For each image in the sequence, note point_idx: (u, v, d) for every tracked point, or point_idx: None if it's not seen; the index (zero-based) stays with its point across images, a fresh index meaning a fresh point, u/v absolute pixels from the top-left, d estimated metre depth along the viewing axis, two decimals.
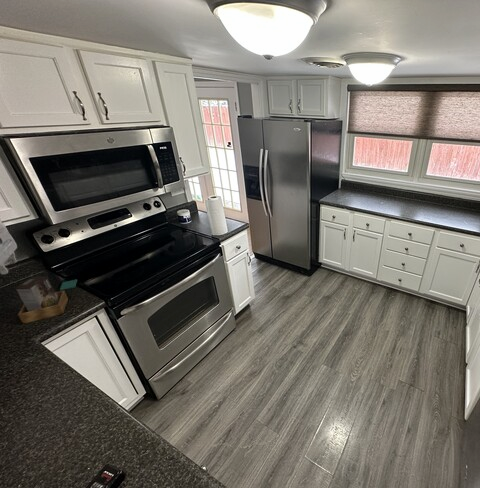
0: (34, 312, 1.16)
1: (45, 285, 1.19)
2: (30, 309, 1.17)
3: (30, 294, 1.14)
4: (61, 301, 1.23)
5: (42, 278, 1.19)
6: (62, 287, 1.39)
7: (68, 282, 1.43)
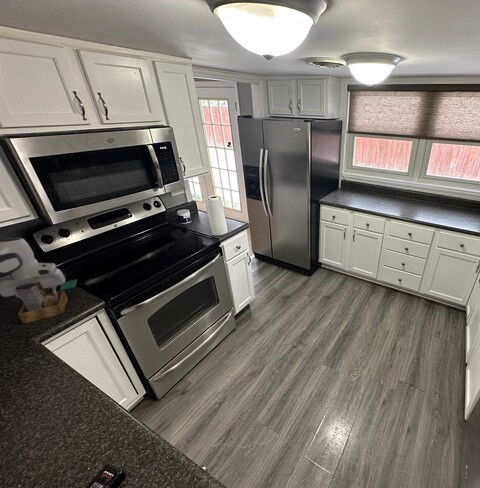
0: (34, 312, 1.16)
1: None
2: (30, 309, 1.17)
3: (30, 294, 1.14)
4: (61, 301, 1.23)
5: None
6: (62, 287, 1.39)
7: (68, 282, 1.43)
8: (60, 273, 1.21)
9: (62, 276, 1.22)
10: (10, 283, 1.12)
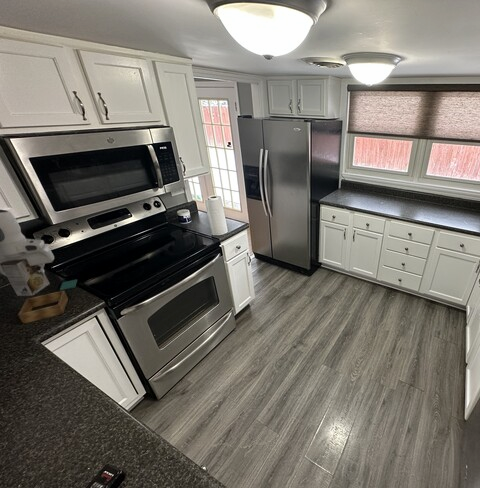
0: (34, 312, 1.16)
1: None
2: (16, 287, 1.12)
3: (16, 270, 1.08)
4: (61, 301, 1.23)
5: None
6: (62, 287, 1.39)
7: (68, 282, 1.43)
8: (48, 250, 1.16)
9: (51, 254, 1.16)
10: None
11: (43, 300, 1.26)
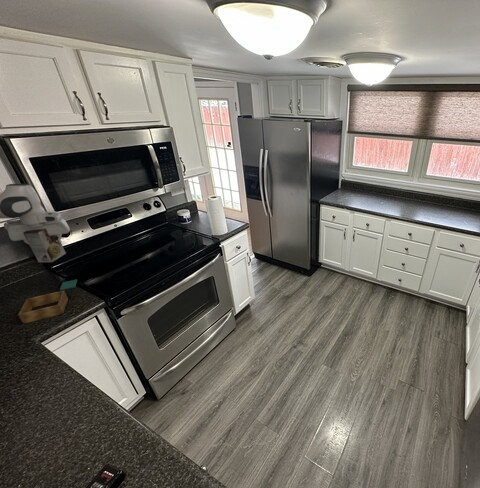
0: (34, 312, 1.16)
1: None
2: (37, 254, 1.26)
3: (37, 238, 1.22)
4: (61, 301, 1.23)
5: None
6: (62, 287, 1.39)
7: (68, 282, 1.43)
8: (65, 222, 1.29)
9: (67, 225, 1.30)
10: (19, 227, 1.20)
11: (43, 300, 1.26)
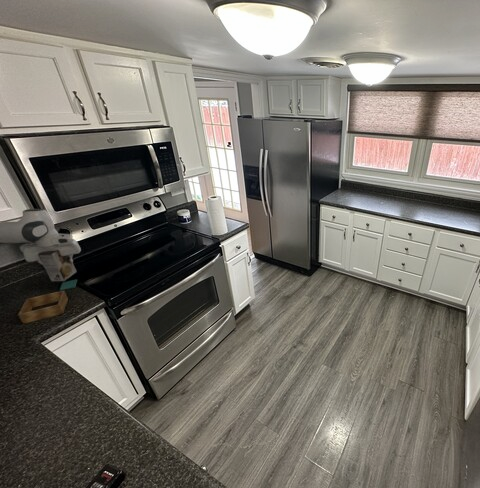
0: (34, 312, 1.16)
1: None
2: (50, 274, 1.33)
3: (51, 259, 1.30)
4: (61, 301, 1.23)
5: None
6: (62, 287, 1.39)
7: (68, 282, 1.43)
8: (76, 243, 1.37)
9: (78, 246, 1.37)
10: (33, 249, 1.27)
11: (43, 300, 1.26)
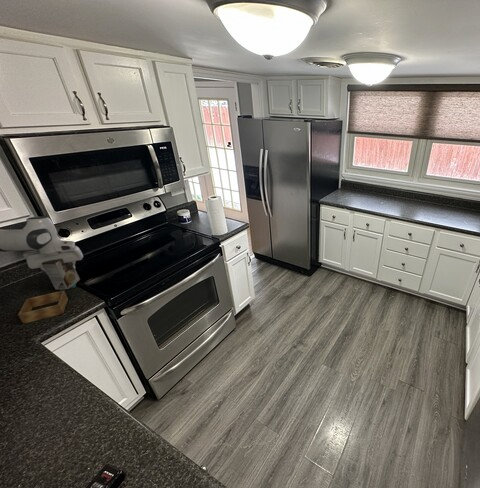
0: (34, 312, 1.16)
1: None
2: (54, 282, 1.35)
3: (55, 268, 1.32)
4: (61, 301, 1.23)
5: None
6: None
7: None
8: (79, 250, 1.38)
9: (80, 253, 1.39)
10: (37, 256, 1.29)
11: (43, 300, 1.26)
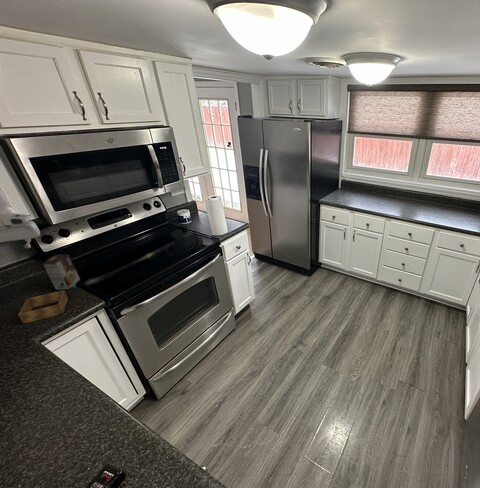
0: (34, 312, 1.16)
1: (67, 262, 1.37)
2: (54, 282, 1.35)
3: (55, 268, 1.32)
4: (61, 301, 1.23)
5: (64, 256, 1.37)
6: None
7: None
8: (34, 225, 1.17)
9: (37, 229, 1.17)
10: None
11: (43, 300, 1.26)
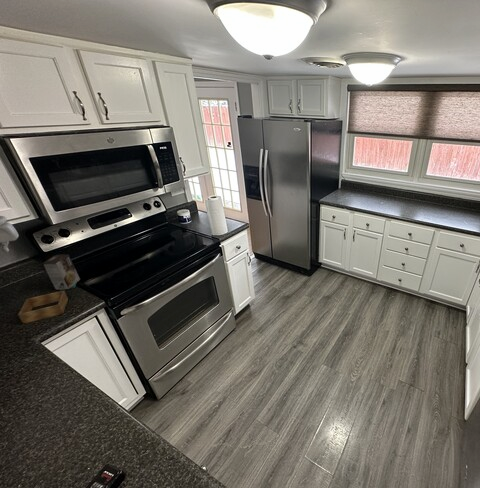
0: (34, 312, 1.16)
1: (67, 262, 1.37)
2: (54, 282, 1.35)
3: (55, 268, 1.32)
4: (61, 301, 1.23)
5: (64, 256, 1.37)
6: None
7: None
8: (11, 227, 1.08)
9: (14, 231, 1.09)
10: None
11: (43, 300, 1.26)
